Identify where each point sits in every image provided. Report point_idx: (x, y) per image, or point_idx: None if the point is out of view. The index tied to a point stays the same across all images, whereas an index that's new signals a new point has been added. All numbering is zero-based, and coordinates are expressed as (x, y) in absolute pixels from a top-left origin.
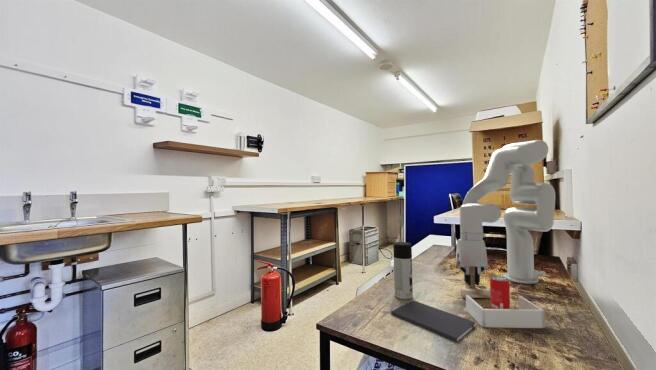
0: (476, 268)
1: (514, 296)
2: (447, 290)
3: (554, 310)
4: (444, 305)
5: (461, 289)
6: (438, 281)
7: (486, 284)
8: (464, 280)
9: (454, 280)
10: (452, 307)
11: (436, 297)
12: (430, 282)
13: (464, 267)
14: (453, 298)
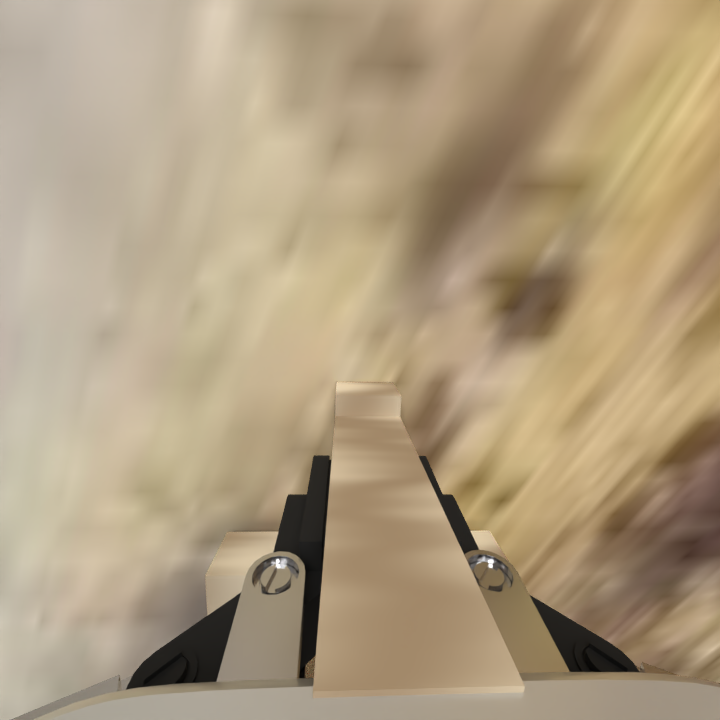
0: (508, 650)
1: (648, 502)
2: (160, 391)
3: (701, 672)
4: (65, 649)
5: (207, 593)
6: (127, 109)
7: (627, 229)
8: (288, 496)
9: (342, 74)
10: (113, 670)
11: (28, 535)
12: (18, 147)
13: (250, 678)
14: (163, 547)
